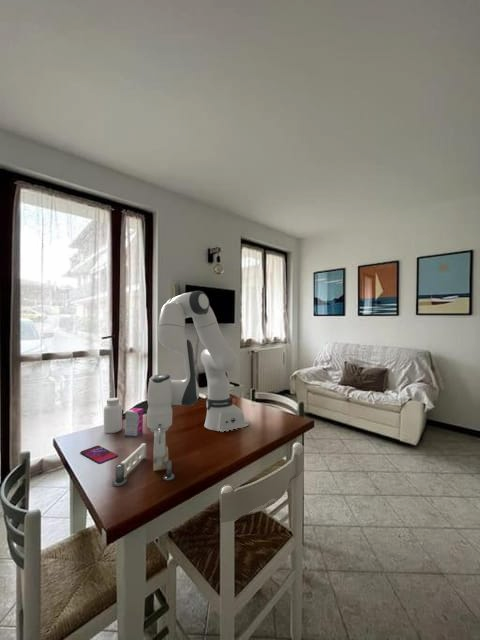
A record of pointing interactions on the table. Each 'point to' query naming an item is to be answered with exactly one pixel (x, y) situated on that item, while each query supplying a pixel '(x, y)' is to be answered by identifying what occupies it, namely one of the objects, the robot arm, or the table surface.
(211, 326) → the robot arm
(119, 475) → the hinge post
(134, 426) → the supplement box
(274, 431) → the table surface
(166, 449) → the beech block
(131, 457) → the gate
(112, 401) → the pill bottle
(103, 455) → the smartphone
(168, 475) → the post
